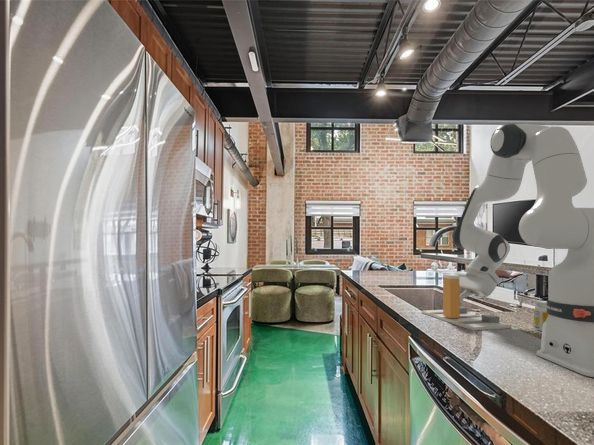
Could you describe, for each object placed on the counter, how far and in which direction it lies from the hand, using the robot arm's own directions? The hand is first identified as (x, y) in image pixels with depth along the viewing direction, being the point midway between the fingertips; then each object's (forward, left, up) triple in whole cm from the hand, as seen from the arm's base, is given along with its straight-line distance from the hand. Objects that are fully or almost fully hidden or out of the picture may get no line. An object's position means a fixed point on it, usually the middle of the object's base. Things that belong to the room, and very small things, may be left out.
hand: (457, 299), depth 133 cm
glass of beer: (-1, +3, -6) cm, 7 cm away
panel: (+1, -2, -8) cm, 8 cm away
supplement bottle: (-11, -24, -8) cm, 28 cm away
